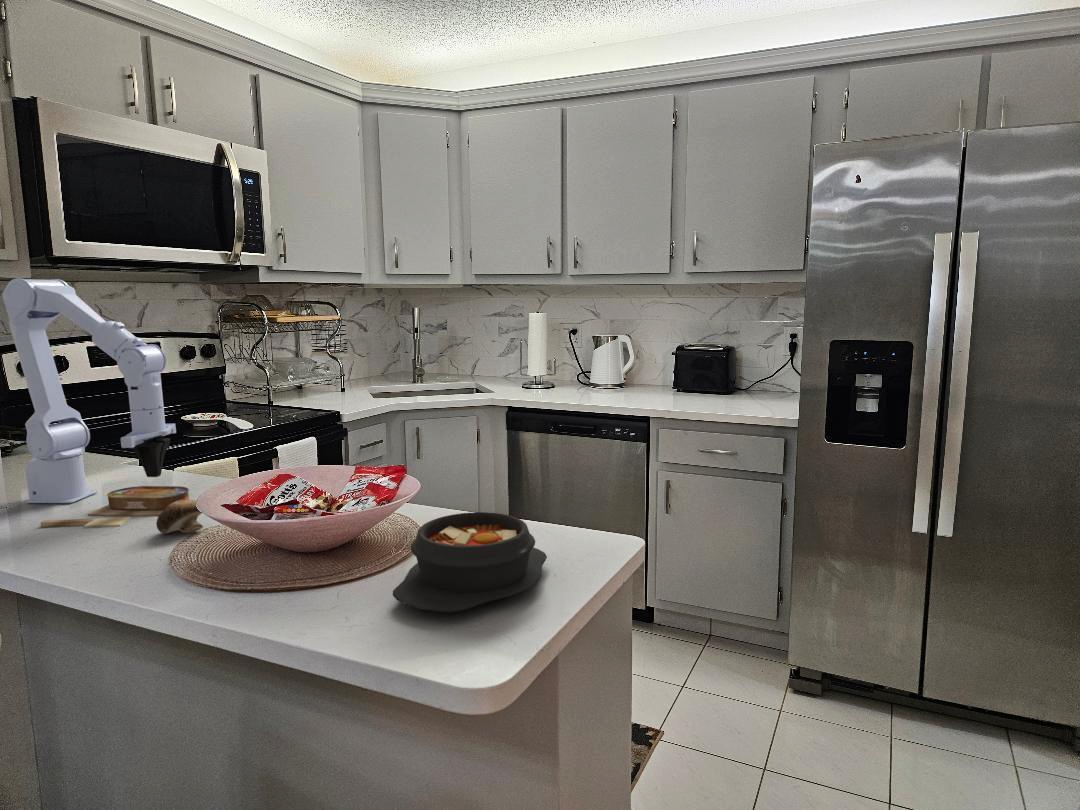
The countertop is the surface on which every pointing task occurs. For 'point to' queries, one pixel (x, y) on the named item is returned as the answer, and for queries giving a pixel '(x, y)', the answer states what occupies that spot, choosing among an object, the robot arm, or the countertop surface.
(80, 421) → the robot arm
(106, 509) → the tan flat board
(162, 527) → the mushroom
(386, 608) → the countertop surface
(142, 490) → the tin
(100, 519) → the turner
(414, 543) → the casserole
